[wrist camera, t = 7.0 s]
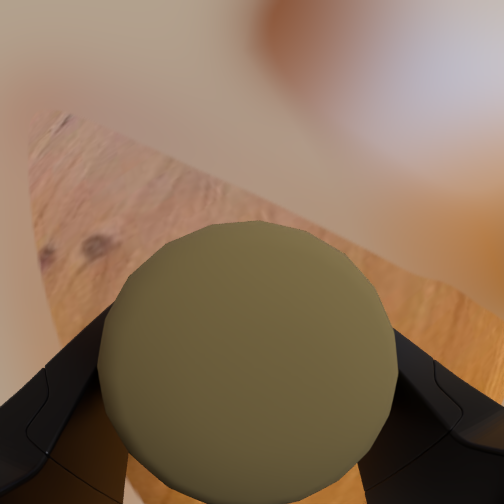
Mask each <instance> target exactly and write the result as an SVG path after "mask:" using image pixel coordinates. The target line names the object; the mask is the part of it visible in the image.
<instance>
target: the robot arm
mask: <svg viewBox="0 0 504 504" xmlns="http://www.w3.org/2000/svg"><path fill="white" fill-rule="evenodd" d="M114 302H115V301H114ZM114 302H113V303H112V304H111V305H110V306H109V307H107V308H106V309H105V310H104V311H103V312H102V313H101V314H100V315H99V316H97V317H96V318H95V319H94V320H93V321H92V322H91V323H90V324H89V325H88V326H86V327H85V328H84V329H83V330H82V331H81V332H80V333H79V334H78V335H77V336H76V337H74V338H73V339H72V340H71V341H70V342H69V343H68V344H67V345H66V346H65V347H64V348H63V349H62V350H61V351H60V352H59V353H58V354H56V355H55V356H54V357H53V358H52V359H51V360H50V361H49V362H48V363H47V364H46V365H45V368H42V369H41V370H40V371H39V372H38V373H37V374H36V375H35V376H34V377H33V378H32V379H31V380H30V381H29V382H27V383H26V385H24V386H23V387H22V388H21V389H20V390H19V391H18V392H17V393H16V394H15V395H13V396H12V397H11V398H10V399H9V400H8V401H6V402H5V403H4V404H3V405H2V406H0V504H123V496H124V485H125V477H126V468H127V461H128V453H129V452H128V450H127V449H126V447H125V446H124V444H123V442H122V441H121V439H120V437H119V435H118V434H117V432H116V430H115V428H114V427H113V425H112V423H111V421H110V419H109V417H108V416H107V414H106V412H105V407H104V402H103V397H102V392H101V386H100V380H99V374H98V368H97V364H98V357H99V350H100V344H101V339H102V333H103V328H104V322H105V318H106V316H107V314H108V313H109V311H110V309H111V307H112V305H113V304H114ZM392 328H393V327H392ZM393 330H394V334H395V343H396V353H397V364H398V377H397V383H396V387H395V392H394V397H393V401H392V406H391V410H390V414H389V416H388V418H387V420H386V422H385V424H384V425H383V427H382V429H381V431H380V433H379V434H378V436H377V438H376V440H375V441H374V443H373V445H372V447H371V448H370V450H369V451H368V452H367V453H366V454H365V455H364V456H363V457H362V458H361V459H360V460H359V461H358V462H357V464H358V468H359V471H360V475H361V479H362V484H363V488H364V491H365V497H366V501H367V504H504V407H503V406H501V405H500V404H498V403H497V402H495V401H494V400H492V399H491V398H489V397H488V396H486V395H484V394H483V393H481V392H480V391H478V390H477V389H475V388H474V387H472V386H471V385H469V384H468V383H466V382H465V381H463V380H462V379H460V378H459V377H457V376H456V375H455V374H453V373H452V372H451V371H449V370H448V369H447V368H445V367H444V366H443V365H441V364H440V363H439V362H437V361H436V360H433V358H432V357H431V356H430V355H428V354H427V353H426V352H424V351H423V350H422V349H420V348H419V347H418V346H416V345H415V344H414V343H413V342H411V341H410V340H409V339H407V338H406V337H405V336H403V335H402V334H401V333H399V332H398V331H397V330H395V329H394V328H393Z"/></svg>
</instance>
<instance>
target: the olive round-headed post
mask: <svg viewBox="0 0 504 504" xmlns="http://www.w3.org/2000/svg"><path fill="white" fill-rule="evenodd" d="M97 368H98V374H99V380H100V386H101V392H102V397H103V402H104V407H105V412H106V414H107V416H108V417H109V419H110V421H111V423H112V425H113V427H114V428H115V430H116V432H117V434H118V435H119V437H120V439H121V441H122V442H123V444H124V446H125V447H126V449H127V450H128V452H129V453H130V454H131V455H132V456H133V457H134V458H135V459H136V460H137V461H138V462H140V463H141V464H142V465H143V466H144V467H145V468H146V469H147V470H149V471H150V472H151V473H152V474H153V475H154V476H156V477H157V478H158V479H159V480H160V481H162V482H163V483H164V484H165V485H166V486H168V487H169V488H171V489H173V490H176V491H178V492H180V493H182V494H185V495H187V496H189V497H192V498H194V499H197V500H199V501H202V502H204V503H207V504H288V503H292V502H296V501H300V500H302V499H304V498H306V497H308V496H310V495H312V494H314V493H316V492H318V491H320V490H322V489H324V488H326V487H328V486H329V485H331V484H333V483H335V482H337V481H338V480H339V479H340V478H342V477H343V476H344V475H345V474H346V473H347V472H348V471H349V470H350V469H351V468H352V467H353V466H354V465H355V464H356V463H357V462H358V461H359V460H360V459H361V458H362V457H363V456H364V455H365V454H366V453H367V452H368V451H369V450H370V448H371V447H372V445H373V443H374V441H375V440H376V438H377V436H378V434H379V433H380V431H381V429H382V427H383V425H384V424H385V422H386V420H387V418H388V416H389V414H390V410H391V406H392V401H393V397H394V392H395V387H396V383H397V377H398V364H397V353H396V343H395V334H394V330H393V328H392V326H391V323H390V321H389V318H388V316H387V314H386V311H385V309H384V307H383V305H382V302H381V300H380V298H379V296H378V293H377V291H376V289H375V287H374V286H373V285H372V284H371V283H370V281H369V280H368V279H367V278H366V277H365V276H364V275H363V273H362V272H361V271H360V270H359V269H358V268H357V267H356V266H355V264H354V263H353V262H352V261H351V260H350V259H349V258H348V257H347V256H346V254H344V253H342V252H341V251H339V250H337V249H336V248H334V247H332V246H331V245H329V244H327V243H326V242H324V241H322V240H321V239H319V238H317V237H315V236H314V235H312V234H310V233H309V232H307V231H304V230H299V229H295V228H291V227H286V226H282V225H277V224H273V223H269V222H264V221H248V222H237V223H225V224H214V225H210V226H207V227H205V228H202V229H200V230H198V231H195V232H193V233H190V234H188V235H186V236H183V237H181V238H179V239H176V240H174V241H172V242H169V243H167V244H165V245H164V246H163V247H162V248H161V249H160V250H158V251H157V252H156V253H155V254H154V255H153V256H151V257H150V258H149V259H148V260H147V261H146V262H145V263H144V264H142V265H141V266H140V267H139V268H138V269H137V270H136V271H135V272H133V273H132V274H131V275H130V276H129V277H128V279H127V281H126V282H125V284H124V286H123V288H122V289H121V291H120V293H119V295H118V296H117V298H116V300H115V302H114V304H113V305H112V307H111V309H110V311H109V313H108V314H107V316H106V318H105V322H104V328H103V333H102V339H101V344H100V350H99V357H98V364H97Z"/></svg>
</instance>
